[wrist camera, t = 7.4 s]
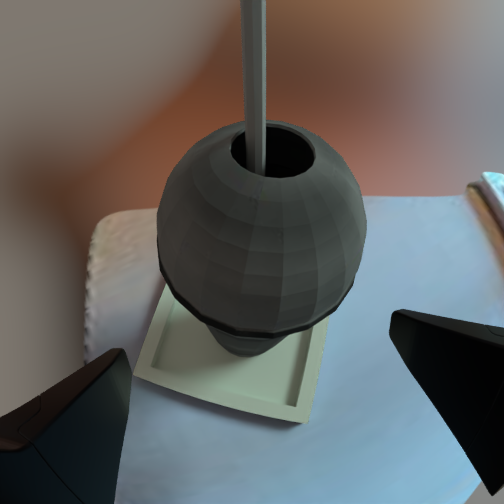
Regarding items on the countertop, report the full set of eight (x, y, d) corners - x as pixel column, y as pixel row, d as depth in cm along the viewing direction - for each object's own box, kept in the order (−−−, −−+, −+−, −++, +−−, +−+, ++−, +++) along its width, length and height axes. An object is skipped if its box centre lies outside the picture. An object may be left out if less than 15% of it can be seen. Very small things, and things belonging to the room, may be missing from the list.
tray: (303, 423, 17) (307, 423, 16) (138, 376, 18) (132, 374, 17) (331, 274, 23) (336, 266, 22) (190, 239, 24) (188, 230, 23)
